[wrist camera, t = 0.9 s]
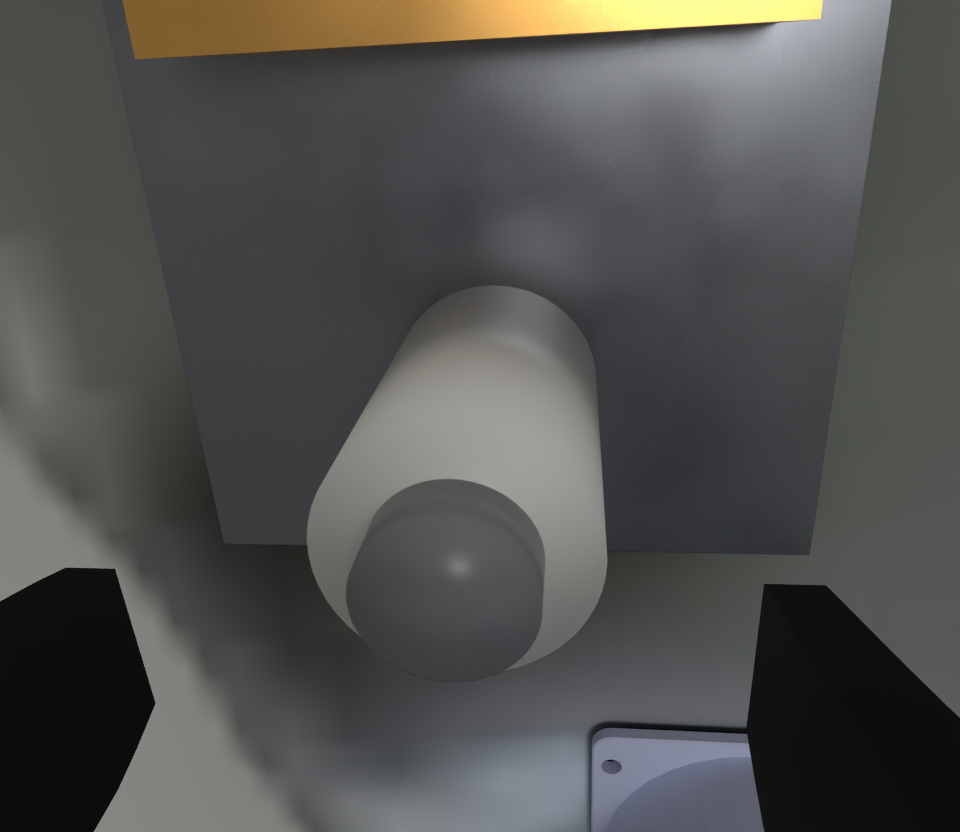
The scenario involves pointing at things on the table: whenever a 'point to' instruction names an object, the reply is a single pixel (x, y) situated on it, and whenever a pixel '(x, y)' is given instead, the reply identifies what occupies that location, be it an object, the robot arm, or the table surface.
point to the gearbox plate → (513, 227)
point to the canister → (469, 493)
